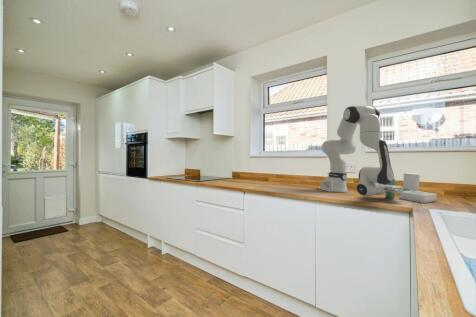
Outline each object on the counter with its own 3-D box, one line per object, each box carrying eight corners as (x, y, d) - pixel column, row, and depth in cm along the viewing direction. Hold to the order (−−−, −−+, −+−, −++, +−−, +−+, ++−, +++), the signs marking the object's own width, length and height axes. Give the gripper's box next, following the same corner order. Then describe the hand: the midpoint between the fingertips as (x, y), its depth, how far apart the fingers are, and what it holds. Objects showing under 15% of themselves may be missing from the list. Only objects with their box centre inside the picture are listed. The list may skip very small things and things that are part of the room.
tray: (399, 198, 149) (399, 191, 149) (411, 196, 155) (411, 190, 155) (424, 202, 136) (424, 195, 136) (436, 201, 142) (436, 193, 142)
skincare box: (402, 194, 162) (402, 173, 162) (404, 193, 167) (405, 172, 166) (416, 196, 156) (417, 174, 155) (419, 195, 160) (419, 173, 160)
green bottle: (383, 197, 151) (384, 175, 150) (388, 197, 153) (389, 174, 152) (391, 199, 146) (392, 176, 146) (396, 198, 148) (396, 175, 148)
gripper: (395, 185, 134) (408, 184, 140) (363, 180, 153) (376, 180, 159) (395, 195, 134) (408, 194, 140) (362, 190, 153) (375, 189, 159)
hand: (391, 186), depth 150 cm, fingers closed on green bottle, 5 cm apart
